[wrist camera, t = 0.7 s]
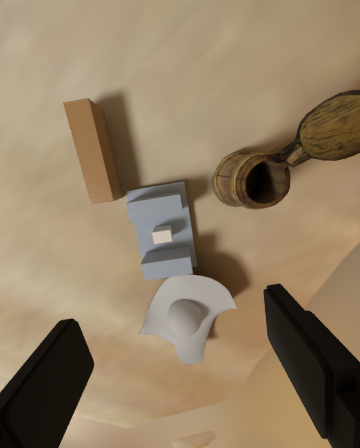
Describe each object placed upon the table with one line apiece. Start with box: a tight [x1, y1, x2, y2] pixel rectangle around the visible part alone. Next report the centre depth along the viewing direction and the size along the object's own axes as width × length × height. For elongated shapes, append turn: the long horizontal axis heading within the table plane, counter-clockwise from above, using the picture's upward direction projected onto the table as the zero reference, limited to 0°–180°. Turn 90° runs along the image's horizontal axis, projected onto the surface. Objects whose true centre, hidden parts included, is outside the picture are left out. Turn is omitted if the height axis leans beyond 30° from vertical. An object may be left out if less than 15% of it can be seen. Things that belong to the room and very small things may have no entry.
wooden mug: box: [212, 90, 360, 209], centre depth 23 cm, size 9×14×18 cm, turn 138°
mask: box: [139, 275, 236, 366], centre depth 36 cm, size 20×8×15 cm
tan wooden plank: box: [63, 98, 123, 205], centre depth 29 cm, size 14×4×5 cm, turn 9°
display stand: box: [126, 181, 197, 281], centre depth 32 cm, size 16×10×6 cm, turn 9°
